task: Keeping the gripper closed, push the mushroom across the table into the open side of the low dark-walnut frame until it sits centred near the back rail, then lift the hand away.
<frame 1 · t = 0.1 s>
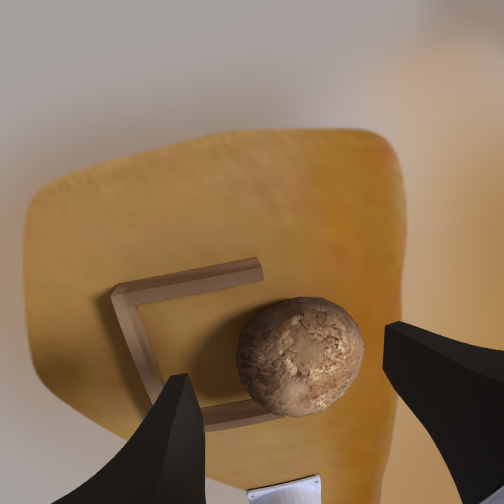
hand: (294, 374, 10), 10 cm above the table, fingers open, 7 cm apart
walnut frame: (205, 352, 21), on the table
mushroom: (289, 332, 22), on the table
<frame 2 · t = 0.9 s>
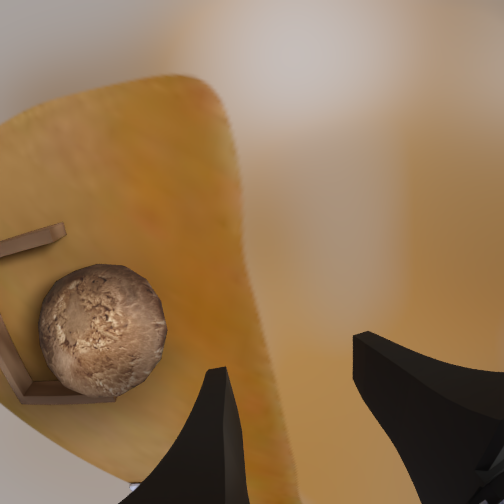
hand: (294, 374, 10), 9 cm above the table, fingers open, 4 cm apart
walnut frame: (38, 320, 18), on the table
mushroom: (111, 306, 19), on the table
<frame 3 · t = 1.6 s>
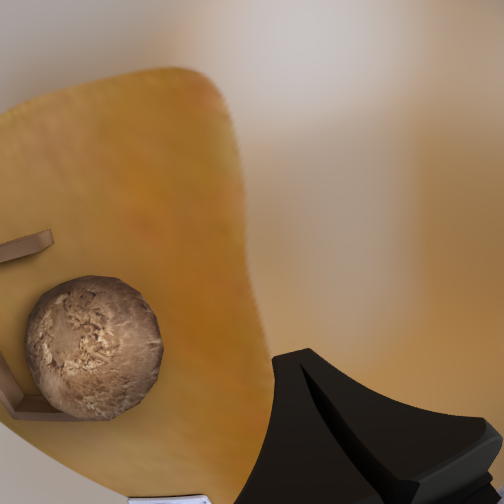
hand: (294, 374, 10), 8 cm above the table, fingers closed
walnut frame: (27, 333, 16), on the table
mushroom: (103, 320, 17), on the table
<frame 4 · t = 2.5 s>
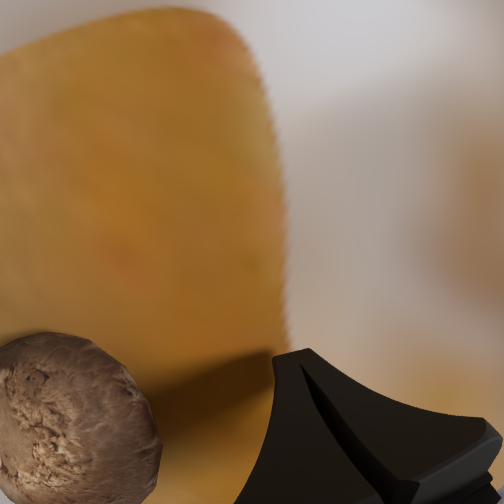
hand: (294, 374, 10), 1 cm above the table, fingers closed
mushroom: (76, 385, 11), on the table
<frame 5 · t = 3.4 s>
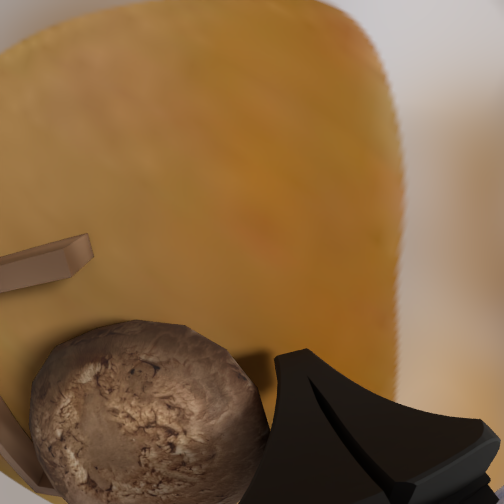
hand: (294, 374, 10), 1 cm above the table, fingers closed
walnut frame: (49, 390, 11), on the table
mushroom: (149, 378, 11), on the table, touching gripper
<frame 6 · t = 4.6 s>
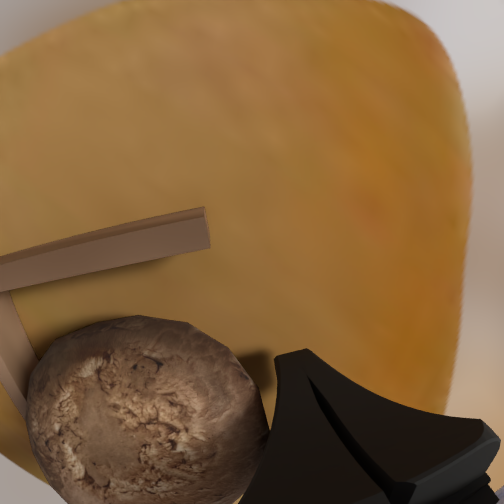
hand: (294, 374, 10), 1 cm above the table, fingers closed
walnut frame: (126, 385, 11), on the table
mushroom: (148, 375, 11), on the table, touching gripper
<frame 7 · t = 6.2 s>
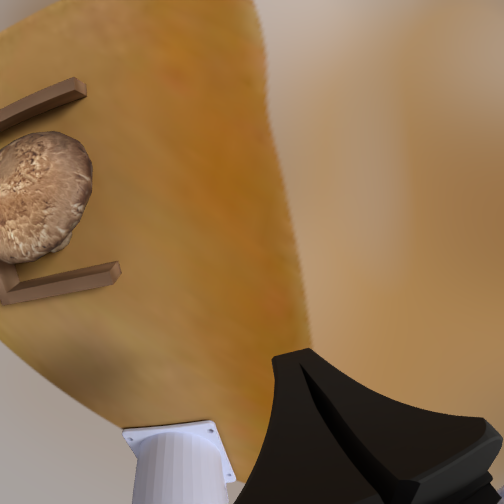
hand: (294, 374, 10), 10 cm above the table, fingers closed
walnut frame: (38, 196, 16), on the table
mushroom: (52, 188, 17), on the table
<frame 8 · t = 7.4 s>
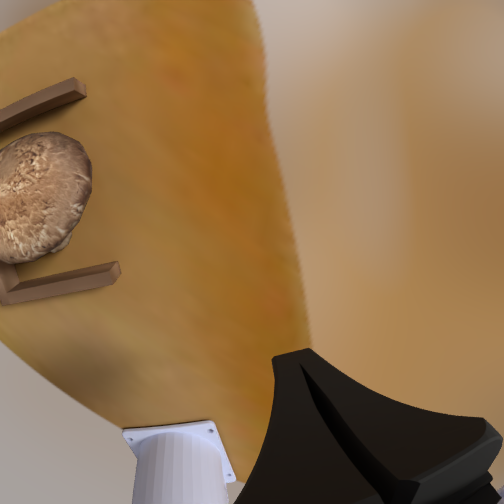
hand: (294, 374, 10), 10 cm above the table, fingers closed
walnut frame: (38, 196, 16), on the table
mushroom: (52, 188, 17), on the table
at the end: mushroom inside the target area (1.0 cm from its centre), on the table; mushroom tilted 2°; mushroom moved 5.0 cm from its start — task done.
